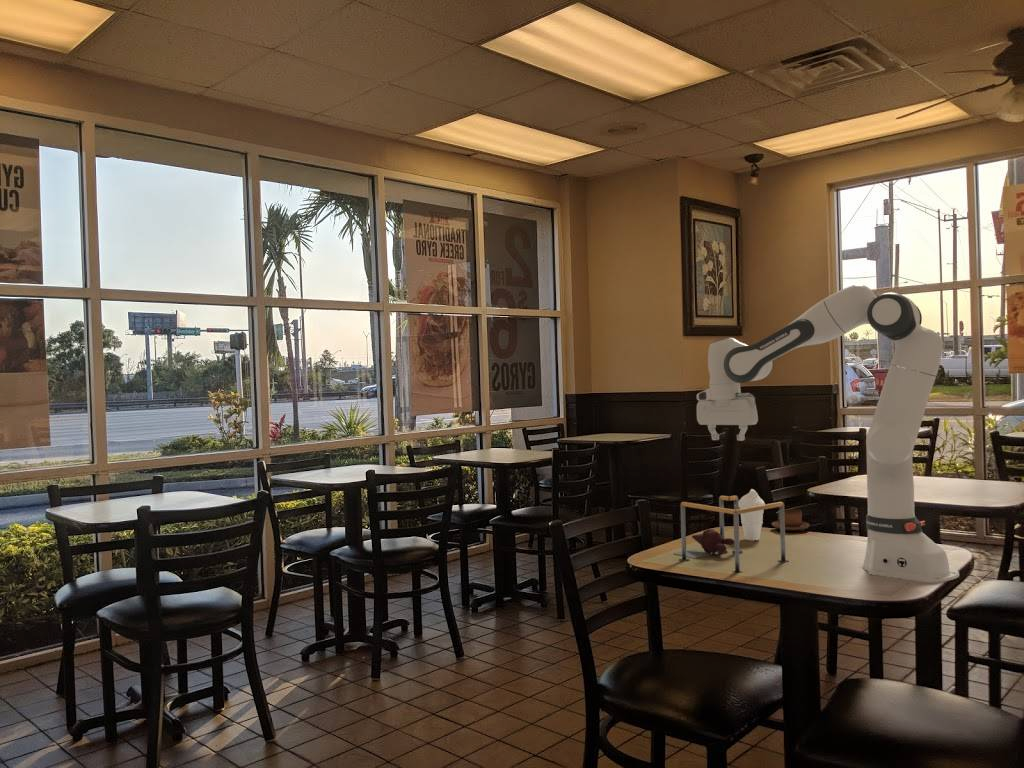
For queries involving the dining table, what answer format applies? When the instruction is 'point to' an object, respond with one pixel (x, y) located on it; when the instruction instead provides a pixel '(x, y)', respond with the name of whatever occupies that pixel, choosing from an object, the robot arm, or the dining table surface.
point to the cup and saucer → (792, 520)
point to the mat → (694, 553)
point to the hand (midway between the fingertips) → (728, 440)
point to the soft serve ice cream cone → (751, 515)
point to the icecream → (712, 541)
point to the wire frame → (736, 525)
